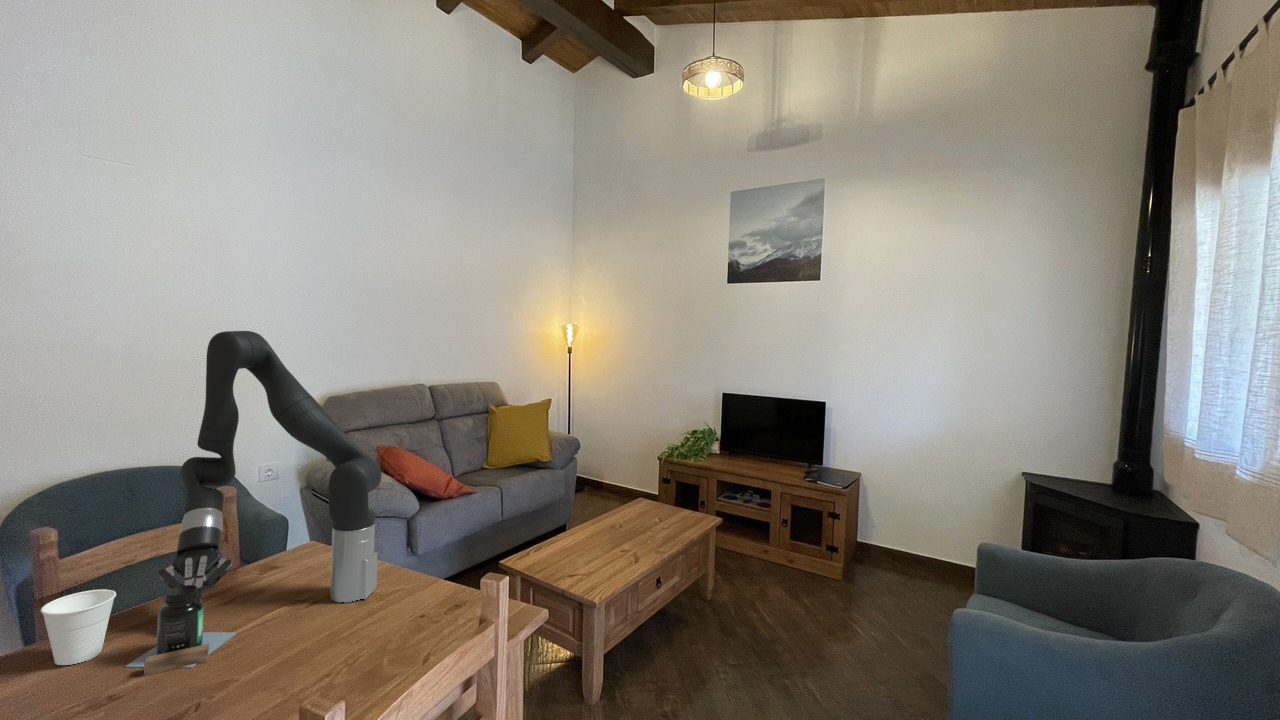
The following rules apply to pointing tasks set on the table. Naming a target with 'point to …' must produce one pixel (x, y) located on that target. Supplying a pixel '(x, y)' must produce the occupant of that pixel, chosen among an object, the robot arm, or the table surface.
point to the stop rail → (176, 659)
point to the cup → (78, 625)
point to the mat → (208, 638)
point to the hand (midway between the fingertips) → (191, 609)
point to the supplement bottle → (180, 620)
